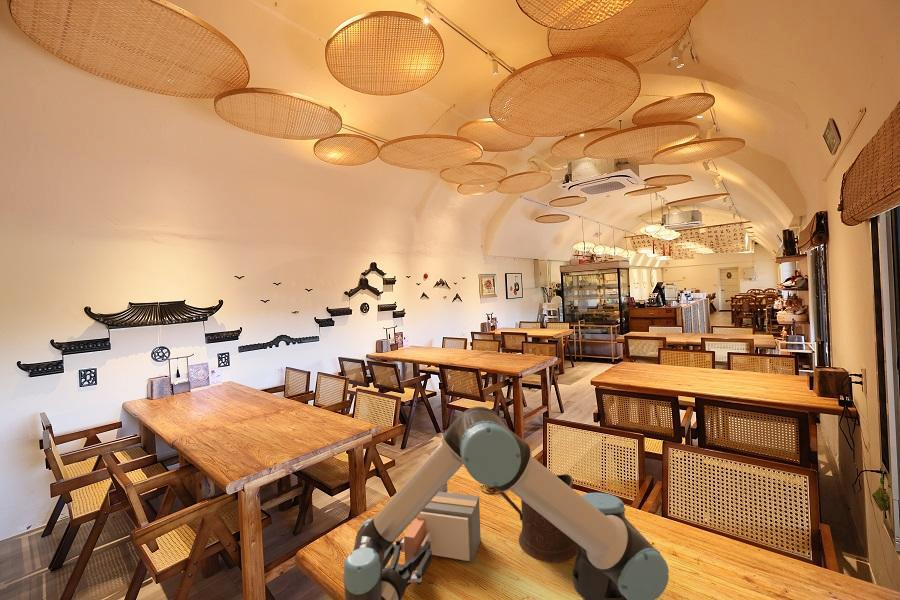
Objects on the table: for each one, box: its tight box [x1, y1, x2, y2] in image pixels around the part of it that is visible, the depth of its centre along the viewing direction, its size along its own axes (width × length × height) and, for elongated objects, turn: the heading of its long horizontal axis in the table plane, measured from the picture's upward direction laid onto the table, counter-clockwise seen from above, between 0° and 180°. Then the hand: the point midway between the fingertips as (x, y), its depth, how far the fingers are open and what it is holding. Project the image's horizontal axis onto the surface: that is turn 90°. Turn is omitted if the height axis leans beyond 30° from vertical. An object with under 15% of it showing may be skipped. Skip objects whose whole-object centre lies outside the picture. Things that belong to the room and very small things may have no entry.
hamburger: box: [484, 485, 499, 494], centre depth 150 cm, size 12×12×6 cm
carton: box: [422, 491, 482, 563], centre depth 116 cm, size 18×10×14 cm, turn 73°
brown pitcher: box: [498, 473, 579, 564], centre depth 117 cm, size 18×24×25 cm
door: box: [403, 511, 470, 571], centre depth 106 cm, size 16×10×12 cm, turn 73°
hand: (420, 534), depth 111 cm, fingers open, 5 cm apart
